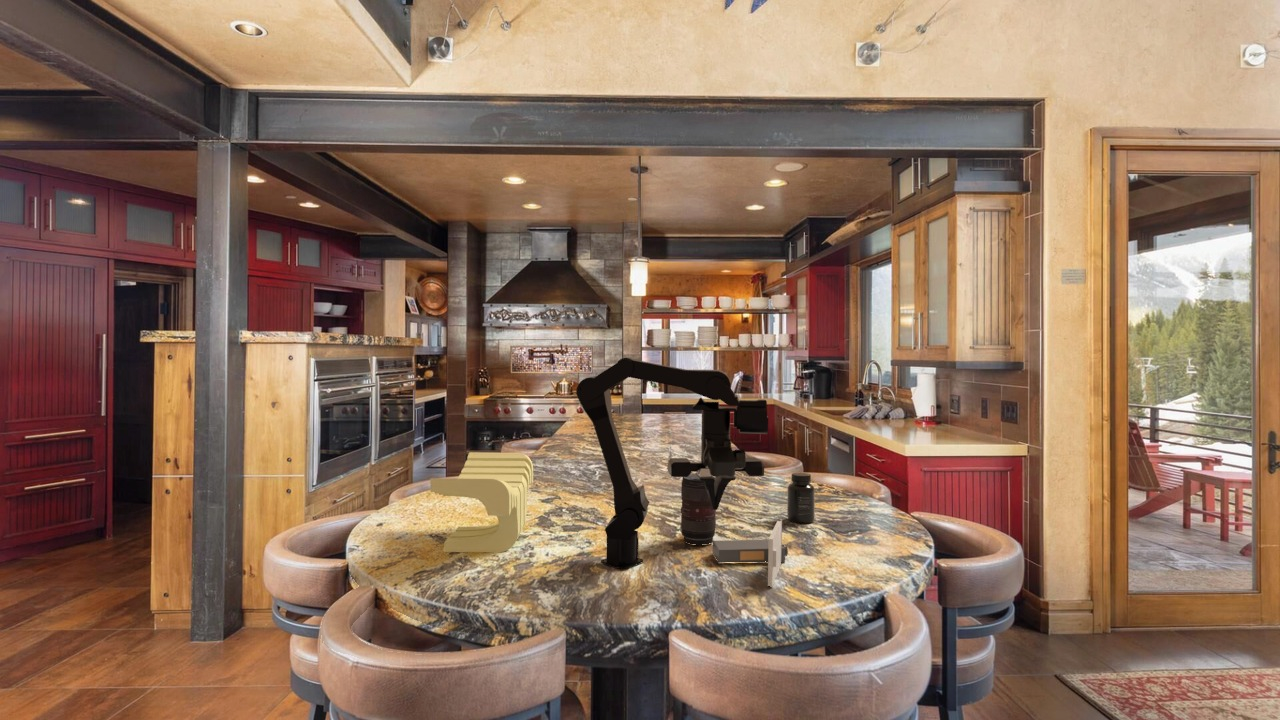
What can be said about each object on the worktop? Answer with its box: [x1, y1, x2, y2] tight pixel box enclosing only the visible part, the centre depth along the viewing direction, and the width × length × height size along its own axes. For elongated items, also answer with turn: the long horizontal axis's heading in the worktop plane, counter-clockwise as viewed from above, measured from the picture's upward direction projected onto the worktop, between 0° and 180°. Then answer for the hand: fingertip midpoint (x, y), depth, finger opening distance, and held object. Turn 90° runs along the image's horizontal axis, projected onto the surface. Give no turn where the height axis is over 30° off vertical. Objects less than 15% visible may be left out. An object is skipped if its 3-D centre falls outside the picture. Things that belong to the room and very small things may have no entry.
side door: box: [767, 518, 783, 588], centre depth 124 cm, size 14×1×9 cm, turn 160°
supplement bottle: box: [787, 472, 816, 524], centre depth 162 cm, size 7×7×12 cm
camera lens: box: [680, 473, 717, 545], centre depth 144 cm, size 8×8×15 cm
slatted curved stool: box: [429, 451, 534, 553], centre depth 142 cm, size 30×16×18 cm, turn 1°
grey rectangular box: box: [712, 539, 789, 563], centre depth 133 cm, size 15×6×3 cm, turn 95°
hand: (714, 509), depth 127 cm, fingers closed
